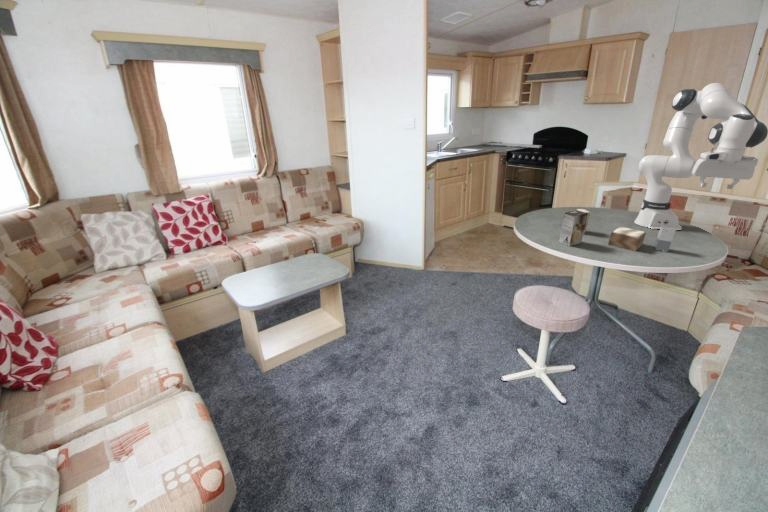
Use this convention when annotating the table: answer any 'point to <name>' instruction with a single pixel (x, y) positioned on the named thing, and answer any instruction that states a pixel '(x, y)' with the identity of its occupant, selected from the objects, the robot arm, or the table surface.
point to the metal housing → (664, 238)
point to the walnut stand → (627, 238)
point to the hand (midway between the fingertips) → (715, 187)
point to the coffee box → (573, 227)
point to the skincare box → (587, 217)
